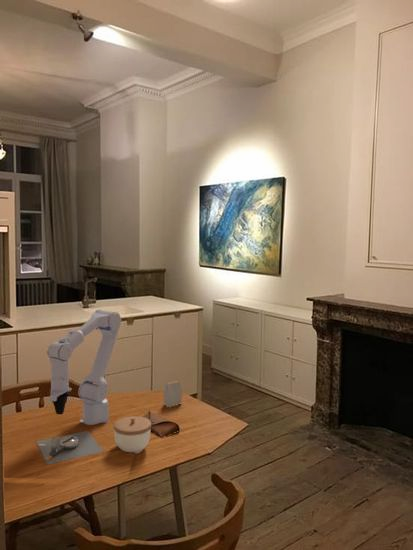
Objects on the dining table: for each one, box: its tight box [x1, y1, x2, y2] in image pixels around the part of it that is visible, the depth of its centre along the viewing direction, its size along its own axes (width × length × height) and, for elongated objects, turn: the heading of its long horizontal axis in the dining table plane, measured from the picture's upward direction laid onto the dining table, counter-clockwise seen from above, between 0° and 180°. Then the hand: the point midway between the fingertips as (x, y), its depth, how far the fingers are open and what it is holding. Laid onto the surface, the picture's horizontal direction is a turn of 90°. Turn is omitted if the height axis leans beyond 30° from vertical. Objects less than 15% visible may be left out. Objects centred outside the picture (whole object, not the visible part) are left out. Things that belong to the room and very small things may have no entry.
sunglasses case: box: [142, 410, 181, 439], centre depth 172 cm, size 18×7×7 cm
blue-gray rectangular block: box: [163, 380, 183, 408], centre depth 195 cm, size 4×7×10 cm, turn 131°
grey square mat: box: [36, 430, 104, 465], centre depth 153 cm, size 18×18×1 cm
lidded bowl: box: [113, 415, 152, 455], centre depth 154 cm, size 13×13×11 cm
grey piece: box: [49, 436, 78, 456], centre depth 151 cm, size 11×6×5 cm, turn 154°
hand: (59, 413), depth 160 cm, fingers closed
